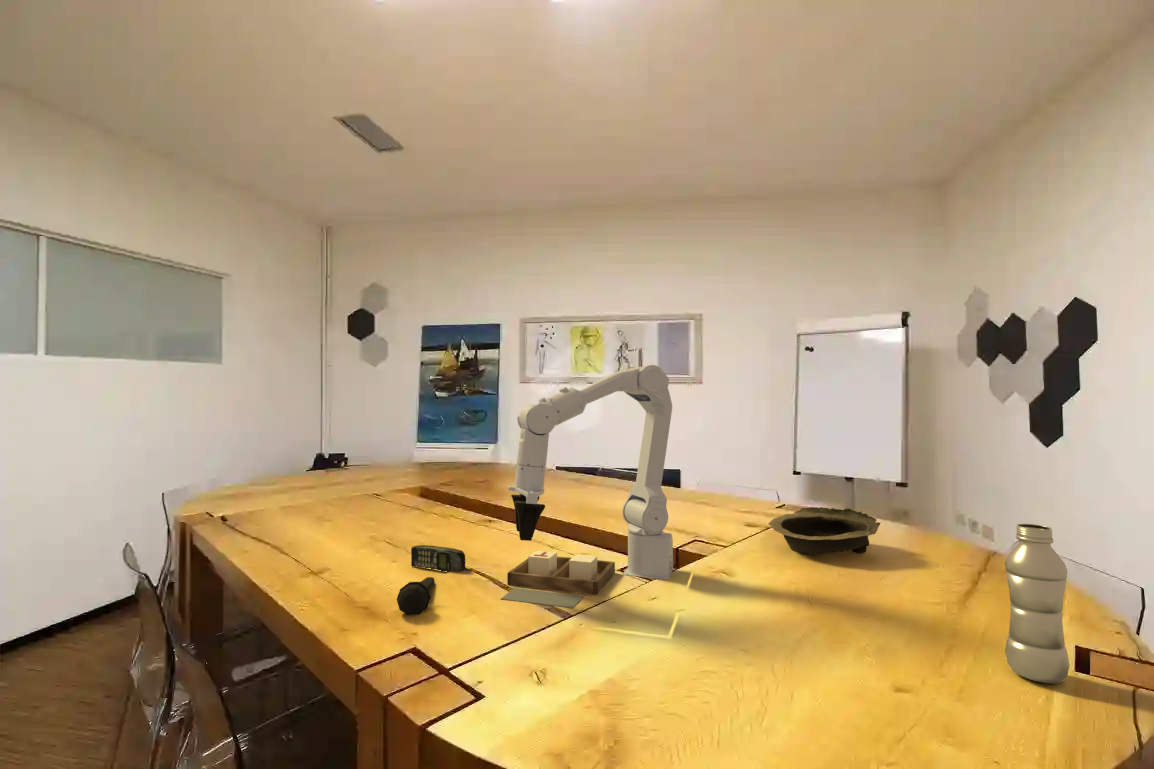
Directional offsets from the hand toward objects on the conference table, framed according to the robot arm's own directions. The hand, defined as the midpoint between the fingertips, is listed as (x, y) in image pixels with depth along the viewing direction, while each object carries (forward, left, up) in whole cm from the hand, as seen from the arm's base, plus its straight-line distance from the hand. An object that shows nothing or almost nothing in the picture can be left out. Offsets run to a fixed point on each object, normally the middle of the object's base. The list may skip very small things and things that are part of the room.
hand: (523, 535), depth 106 cm
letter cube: (-1, -8, -10) cm, 13 cm away
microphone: (+16, +9, -11) cm, 21 cm away
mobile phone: (+23, -7, -11) cm, 26 cm away
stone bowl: (-58, -48, -11) cm, 76 cm away
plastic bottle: (-78, +9, -11) cm, 80 cm away
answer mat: (-5, +4, -11) cm, 12 cm away
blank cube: (-10, -8, -10) cm, 16 cm away
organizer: (-5, -8, -11) cm, 14 cm away
